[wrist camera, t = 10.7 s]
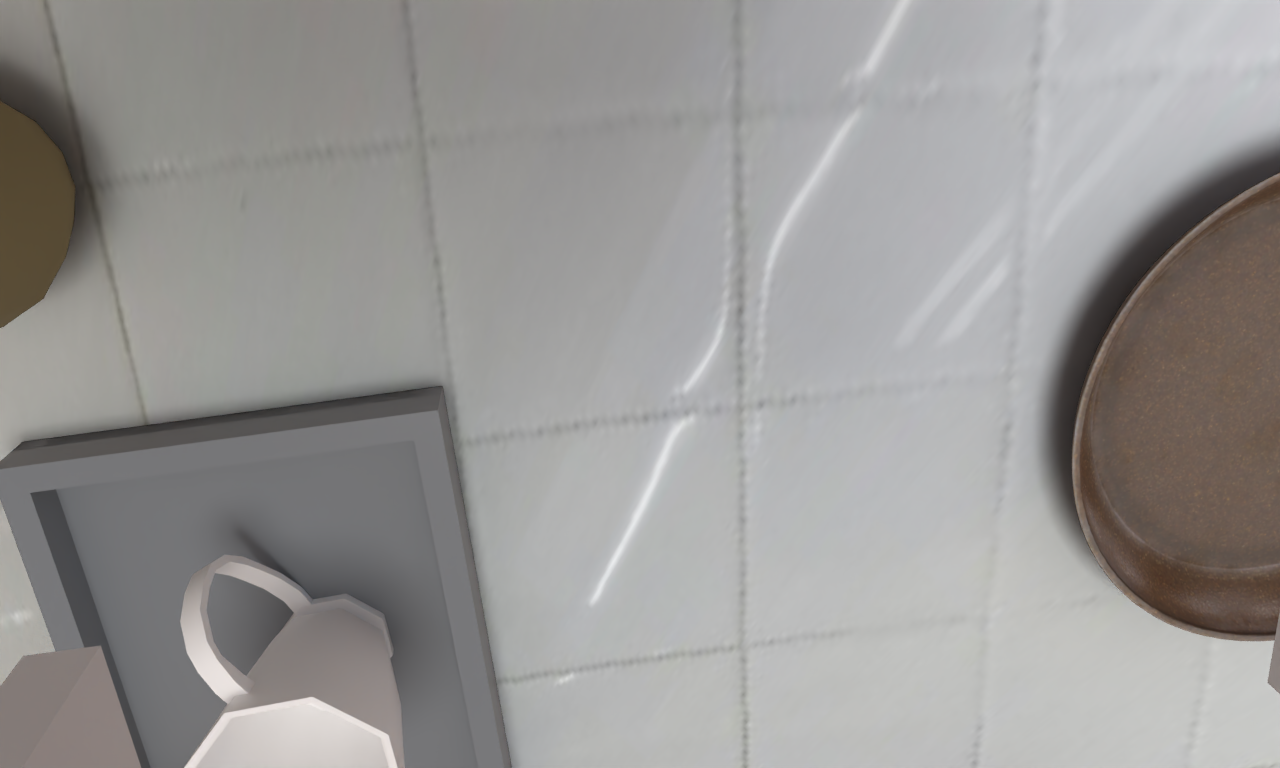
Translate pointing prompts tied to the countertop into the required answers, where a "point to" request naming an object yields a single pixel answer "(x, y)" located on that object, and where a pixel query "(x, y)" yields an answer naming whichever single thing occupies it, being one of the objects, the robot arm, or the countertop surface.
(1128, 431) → the plant saucer
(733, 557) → the countertop surface
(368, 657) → the cup
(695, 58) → the countertop surface
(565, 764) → the countertop surface
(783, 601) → the countertop surface
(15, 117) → the squeeze bottle
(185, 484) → the tray
